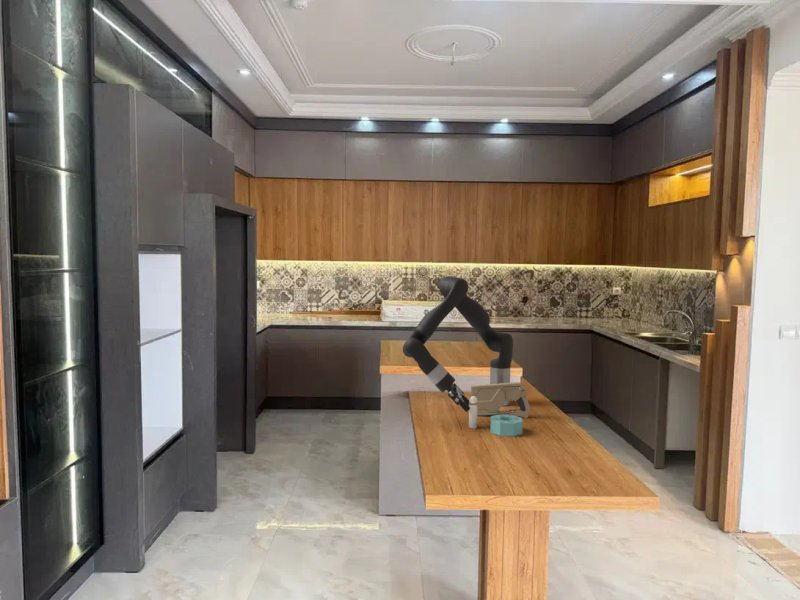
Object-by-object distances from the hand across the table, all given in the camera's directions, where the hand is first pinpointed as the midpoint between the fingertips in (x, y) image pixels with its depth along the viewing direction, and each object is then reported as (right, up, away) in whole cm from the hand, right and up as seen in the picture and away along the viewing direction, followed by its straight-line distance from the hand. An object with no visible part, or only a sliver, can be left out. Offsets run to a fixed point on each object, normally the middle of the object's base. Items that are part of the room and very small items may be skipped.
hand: (469, 407), depth 226 cm
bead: (+14, -8, -5) cm, 17 cm away
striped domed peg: (+2, -8, 0) cm, 8 cm away
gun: (+15, -7, +17) cm, 24 cm away
